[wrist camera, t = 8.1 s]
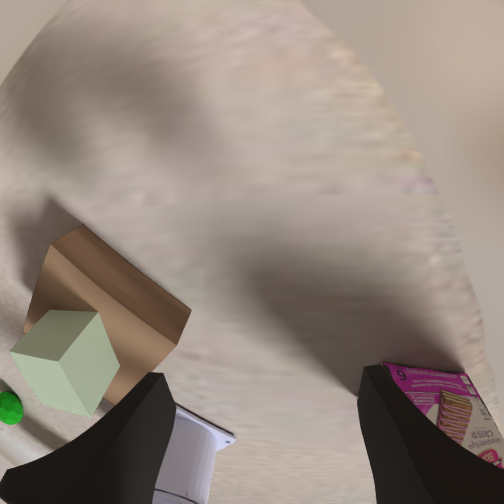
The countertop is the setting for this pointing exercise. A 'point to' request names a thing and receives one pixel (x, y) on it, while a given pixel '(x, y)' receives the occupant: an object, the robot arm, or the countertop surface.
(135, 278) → the walnut block
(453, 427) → the candy bar box
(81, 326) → the sage block
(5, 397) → the polyhedron
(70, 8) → the countertop surface
